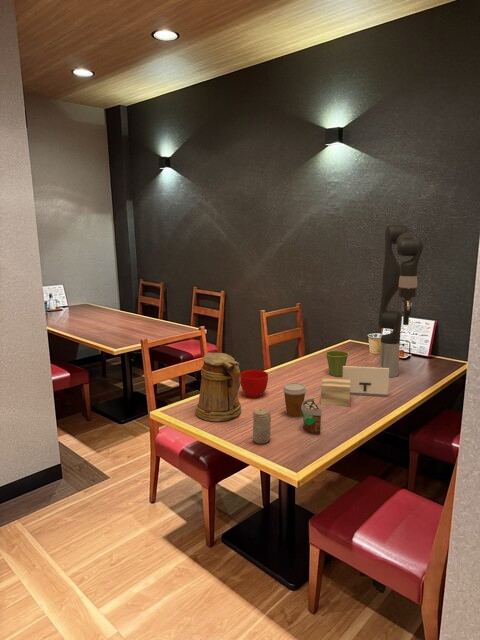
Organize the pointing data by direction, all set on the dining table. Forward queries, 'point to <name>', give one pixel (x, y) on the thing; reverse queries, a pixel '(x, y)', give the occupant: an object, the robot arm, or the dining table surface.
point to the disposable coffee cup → (294, 398)
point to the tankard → (219, 388)
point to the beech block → (335, 392)
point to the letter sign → (367, 380)
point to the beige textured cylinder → (261, 425)
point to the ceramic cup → (254, 382)
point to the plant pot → (336, 362)
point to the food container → (311, 416)
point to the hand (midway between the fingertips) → (405, 324)
